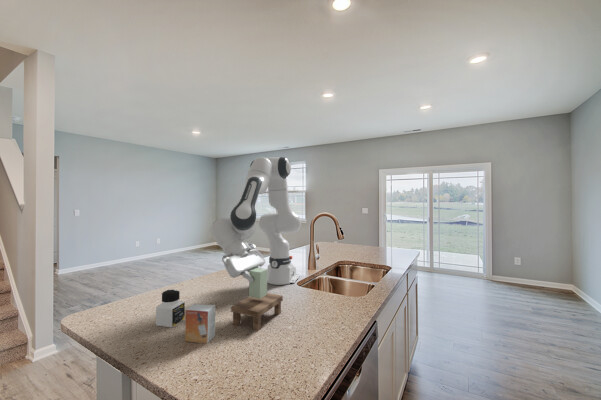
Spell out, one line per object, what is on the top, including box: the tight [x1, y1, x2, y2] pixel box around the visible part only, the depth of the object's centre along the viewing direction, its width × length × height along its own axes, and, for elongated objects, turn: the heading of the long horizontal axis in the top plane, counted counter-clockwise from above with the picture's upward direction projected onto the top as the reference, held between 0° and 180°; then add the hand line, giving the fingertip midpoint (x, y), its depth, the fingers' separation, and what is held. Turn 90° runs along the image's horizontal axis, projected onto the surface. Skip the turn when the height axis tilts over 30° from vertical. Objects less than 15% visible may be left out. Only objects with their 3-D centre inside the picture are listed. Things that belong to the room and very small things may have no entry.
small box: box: [184, 303, 216, 345], centre depth 89 cm, size 8×6×10 cm
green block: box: [248, 267, 268, 299], centre depth 105 cm, size 5×5×10 cm
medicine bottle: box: [155, 288, 186, 328], centre depth 101 cm, size 7×7×12 cm
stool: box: [230, 292, 284, 332], centre depth 105 cm, size 18×12×7 cm, turn 155°
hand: (257, 279), depth 105 cm, fingers closed on green block, 5 cm apart
